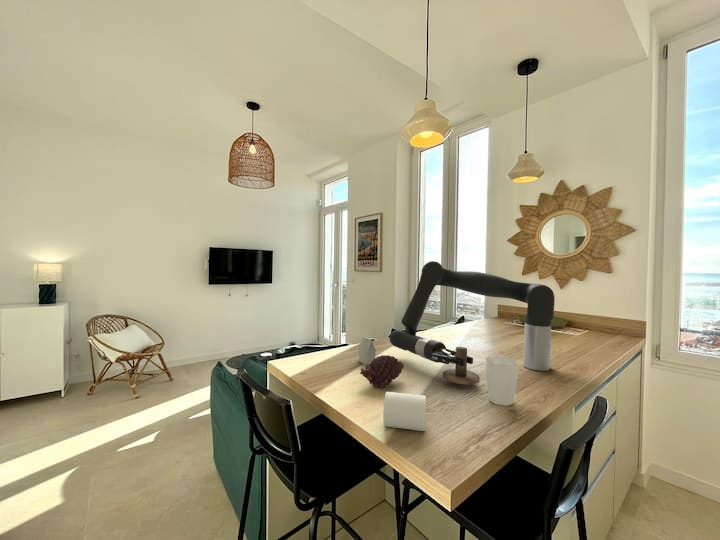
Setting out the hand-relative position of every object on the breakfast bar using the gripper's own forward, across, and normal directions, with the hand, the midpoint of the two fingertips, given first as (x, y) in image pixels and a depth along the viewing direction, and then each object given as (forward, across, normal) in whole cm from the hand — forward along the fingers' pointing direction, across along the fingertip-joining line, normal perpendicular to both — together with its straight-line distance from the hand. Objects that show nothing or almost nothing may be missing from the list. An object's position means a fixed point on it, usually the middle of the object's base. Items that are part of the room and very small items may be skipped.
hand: (468, 362), depth 103 cm
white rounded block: (+7, -33, +8) cm, 35 cm away
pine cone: (-15, -23, +8) cm, 29 cm away
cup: (+12, 0, +9) cm, 15 cm away
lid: (-3, 0, +6) cm, 7 cm away
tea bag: (-37, -15, +8) cm, 41 cm away
